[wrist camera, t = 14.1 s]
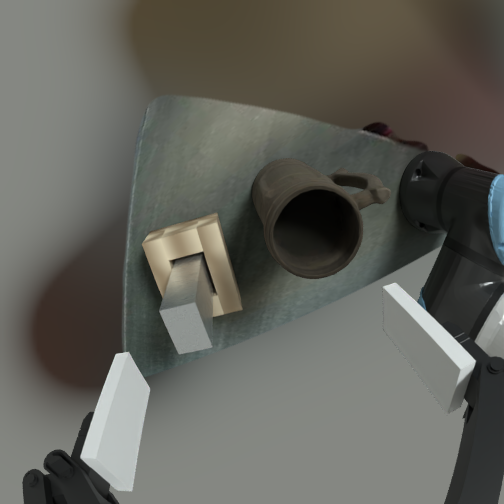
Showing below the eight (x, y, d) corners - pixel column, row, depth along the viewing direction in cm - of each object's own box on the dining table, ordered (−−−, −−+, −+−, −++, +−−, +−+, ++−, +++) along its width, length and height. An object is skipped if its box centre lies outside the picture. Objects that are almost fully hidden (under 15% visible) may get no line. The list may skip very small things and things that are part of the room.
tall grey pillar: (202, 244, 48) (195, 302, 31) (213, 278, 50) (212, 347, 33) (178, 251, 48) (159, 310, 31) (190, 284, 50) (178, 354, 33)
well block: (217, 212, 47) (217, 222, 42) (239, 291, 52) (242, 309, 47) (150, 231, 47) (141, 243, 42) (178, 306, 52) (174, 325, 47)
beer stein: (274, 241, 50) (307, 303, 31) (233, 188, 46) (243, 223, 28) (350, 186, 48) (421, 217, 29) (314, 130, 44) (376, 127, 26)
